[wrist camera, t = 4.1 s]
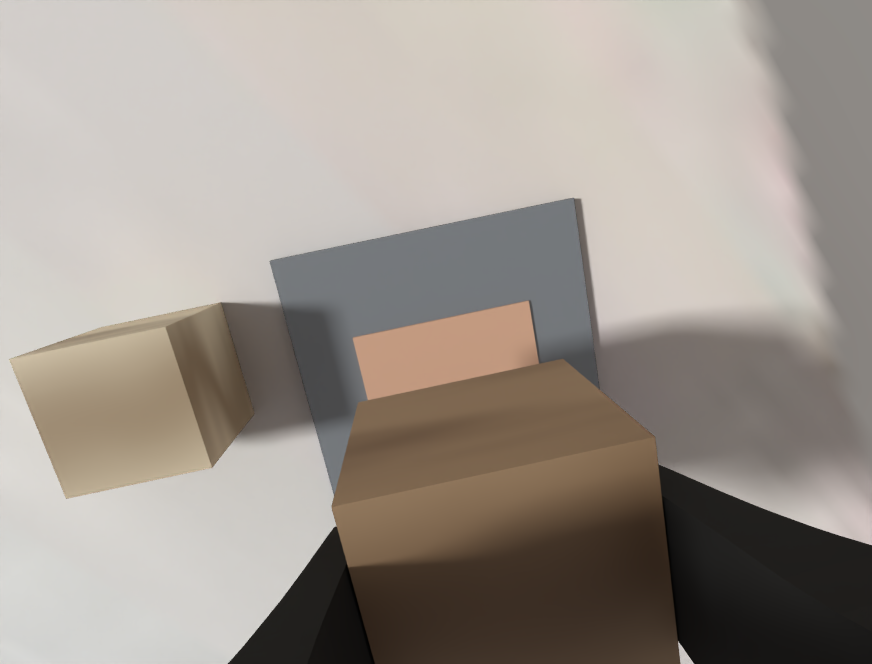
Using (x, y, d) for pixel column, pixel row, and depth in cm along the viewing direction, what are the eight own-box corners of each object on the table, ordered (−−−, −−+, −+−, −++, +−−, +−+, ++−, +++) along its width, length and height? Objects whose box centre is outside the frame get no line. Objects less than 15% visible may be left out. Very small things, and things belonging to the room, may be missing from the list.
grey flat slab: (613, 516, 19) (618, 522, 19) (357, 572, 19) (356, 579, 19) (570, 198, 16) (574, 197, 16) (271, 260, 16) (268, 261, 16)
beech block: (255, 412, 17) (212, 467, 14) (141, 436, 17) (66, 498, 14) (221, 302, 17) (165, 326, 13) (102, 326, 17) (9, 358, 13)
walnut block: (589, 539, 13) (684, 698, 9) (402, 580, 13) (402, 762, 9) (562, 358, 12) (655, 436, 8) (358, 402, 12) (331, 506, 7)
